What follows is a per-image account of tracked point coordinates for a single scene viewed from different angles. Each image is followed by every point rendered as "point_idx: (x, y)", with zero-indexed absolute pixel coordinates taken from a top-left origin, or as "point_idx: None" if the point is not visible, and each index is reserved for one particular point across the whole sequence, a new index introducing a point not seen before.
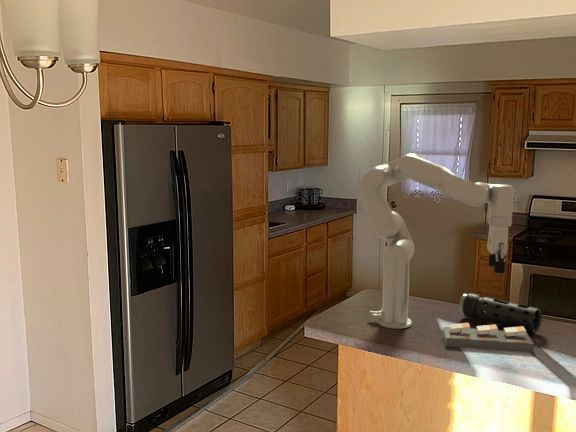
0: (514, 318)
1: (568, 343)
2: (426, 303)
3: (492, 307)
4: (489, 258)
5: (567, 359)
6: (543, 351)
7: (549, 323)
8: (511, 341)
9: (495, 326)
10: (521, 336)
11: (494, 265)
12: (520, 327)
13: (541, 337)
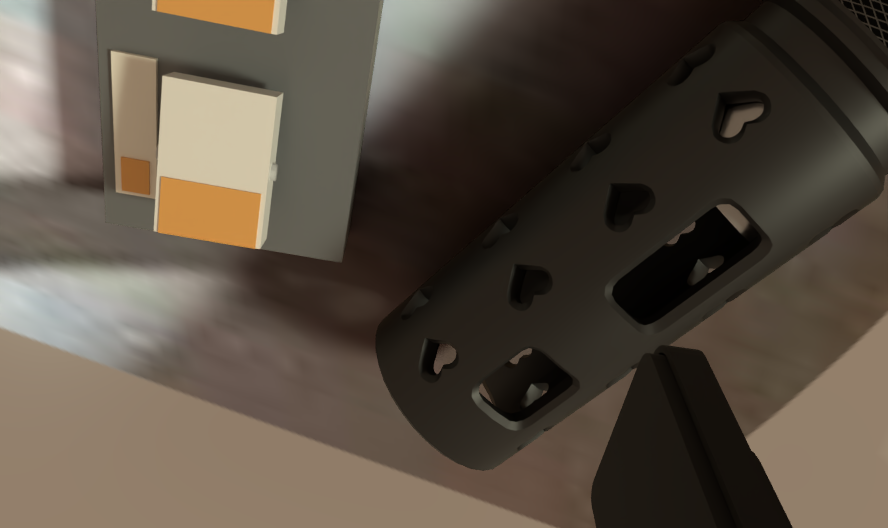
0: (470, 258)
1: (321, 430)
2: None
3: (651, 153)
4: (721, 489)
5: (68, 335)
6: (168, 262)
7: None
8: (112, 80)
9: (213, 10)
10: None
11: (614, 446)
12: (233, 219)
13: None
